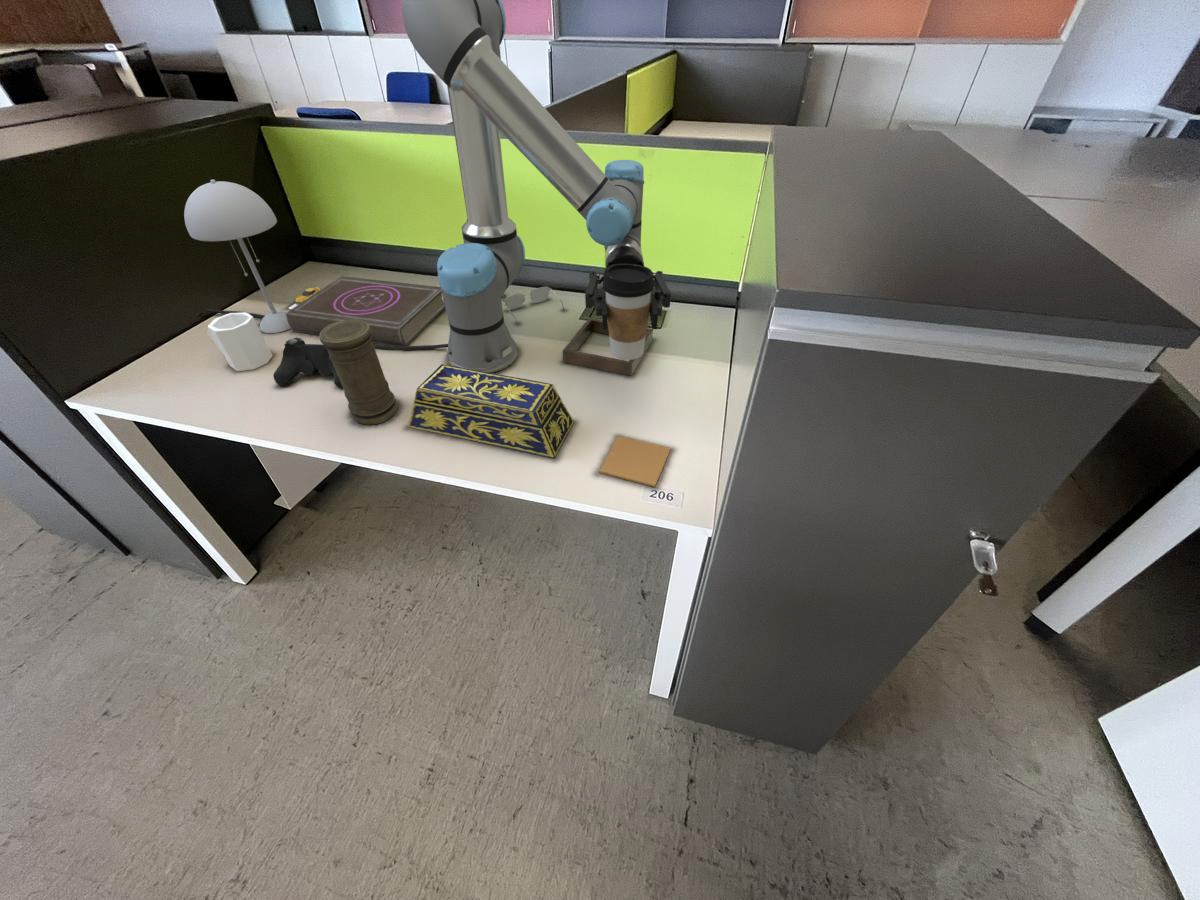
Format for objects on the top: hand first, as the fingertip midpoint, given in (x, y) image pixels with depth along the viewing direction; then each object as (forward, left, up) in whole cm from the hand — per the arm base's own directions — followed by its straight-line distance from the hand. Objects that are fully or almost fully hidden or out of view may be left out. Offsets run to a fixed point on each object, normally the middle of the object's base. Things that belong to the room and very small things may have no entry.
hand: (630, 321), depth 84 cm
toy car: (-96, +21, -22) cm, 101 cm away
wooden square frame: (-12, +24, -22) cm, 35 cm away
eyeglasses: (-37, +36, -22) cm, 56 cm away
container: (-48, -13, -22) cm, 55 cm away
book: (-74, +19, -22) cm, 79 cm away
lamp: (-94, +8, -22) cm, 97 cm away
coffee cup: (-2, +5, -9) cm, 10 cm away
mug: (-89, -7, -22) cm, 92 cm away
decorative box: (-24, -8, -22) cm, 34 cm away
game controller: (-67, -7, -22) cm, 71 cm away
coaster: (+5, -9, -22) cm, 24 cm away
